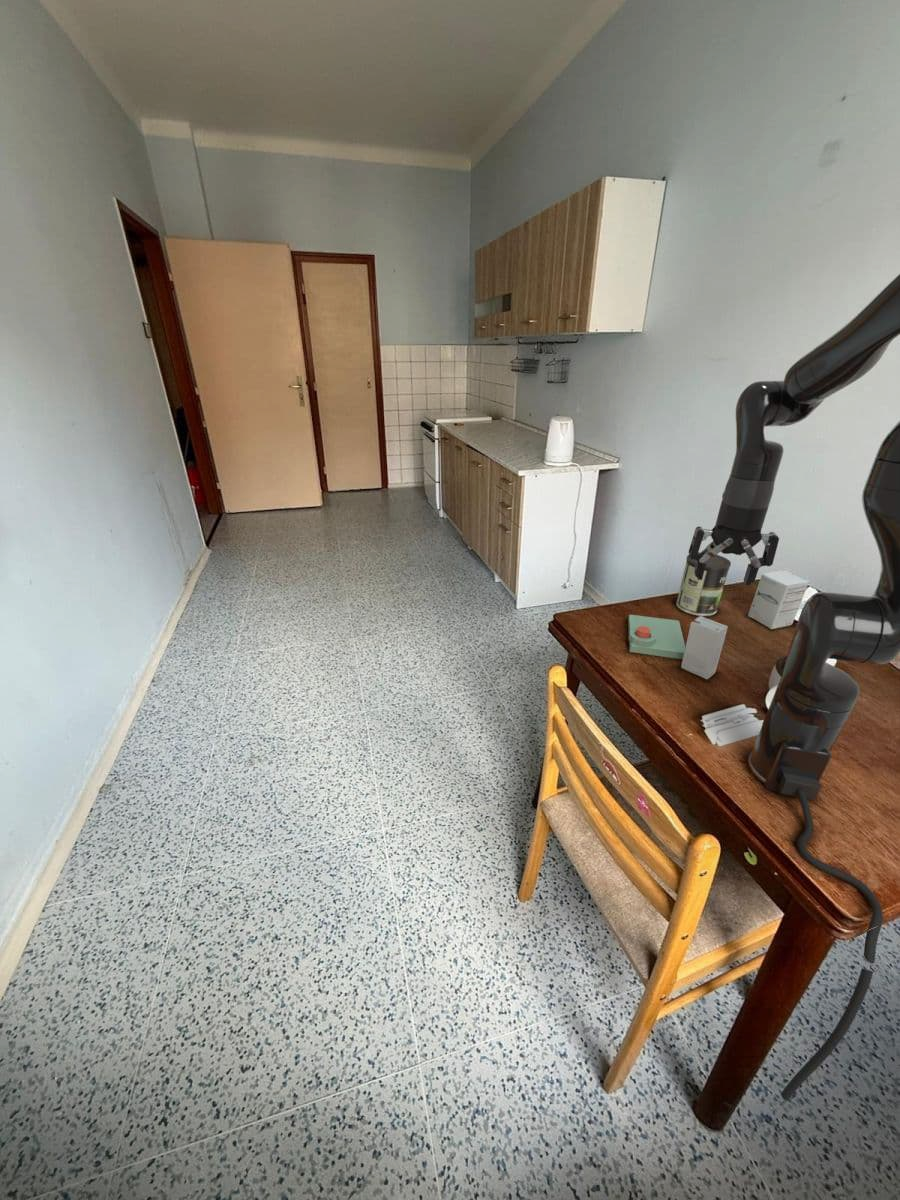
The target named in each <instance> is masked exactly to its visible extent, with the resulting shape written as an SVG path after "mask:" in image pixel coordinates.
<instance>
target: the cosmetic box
mask: <svg viewBox="0 0 900 1200" xmlns="http://www.w3.org/2000/svg"><path fill="white" fill-rule="evenodd" d="M728 628H729V627H728V625H726V624H724V623H723V624H722V623H720V622H717V621H715V620H712V619H709V618H707V617H705V616H698V617H696V618H695V619H694V620H692V621H691V622H690V625H689V629H688V634H687V639H686V643H685V652H684V656H683V659H681V665H680V666H681V667H680V668H681V669H683V670H685V671H687V672H689V673H691V674H694V675H696V676H699V677H701V678H702V679H705V680H708V679H710V678H711V677H712V676H713V675H714V674H716V672H717V668H718V665H719V661H720V658H721V654H722V650H723V647H724V644H725V639H726V635H727V631H728Z"/></svg>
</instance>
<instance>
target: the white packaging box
mask: <svg viewBox="0 0 900 1200" xmlns="http://www.w3.org/2000/svg"><path fill="white" fill-rule="evenodd" d="M809 584H810V581H809V580H807V579H805V578H802V577H800V576H798V575H796V574H794V573H791V572H789V571H787V570H784V569H779V570H772V571H768V572H763V573H761V575H760V579H759V582H758V585H757V588H756V591H755V593H754V596H753V600H752V602H751V605H750V608H749V611H748V614H747V617H749V618H751V619H753V620H755V621H756V622H758V623H759V624H762V625H763V626H765V627H767V628H768V629H770V630H775V629H779V628H780V629H781V628H784V627H789V626H792V625H793V623H794V621H795V618H796V617H797V614H798V611H799V610H800V606H801V604H802V601H803V598H804V596H805V593H806V591H807V588H808V587H809Z"/></svg>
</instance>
